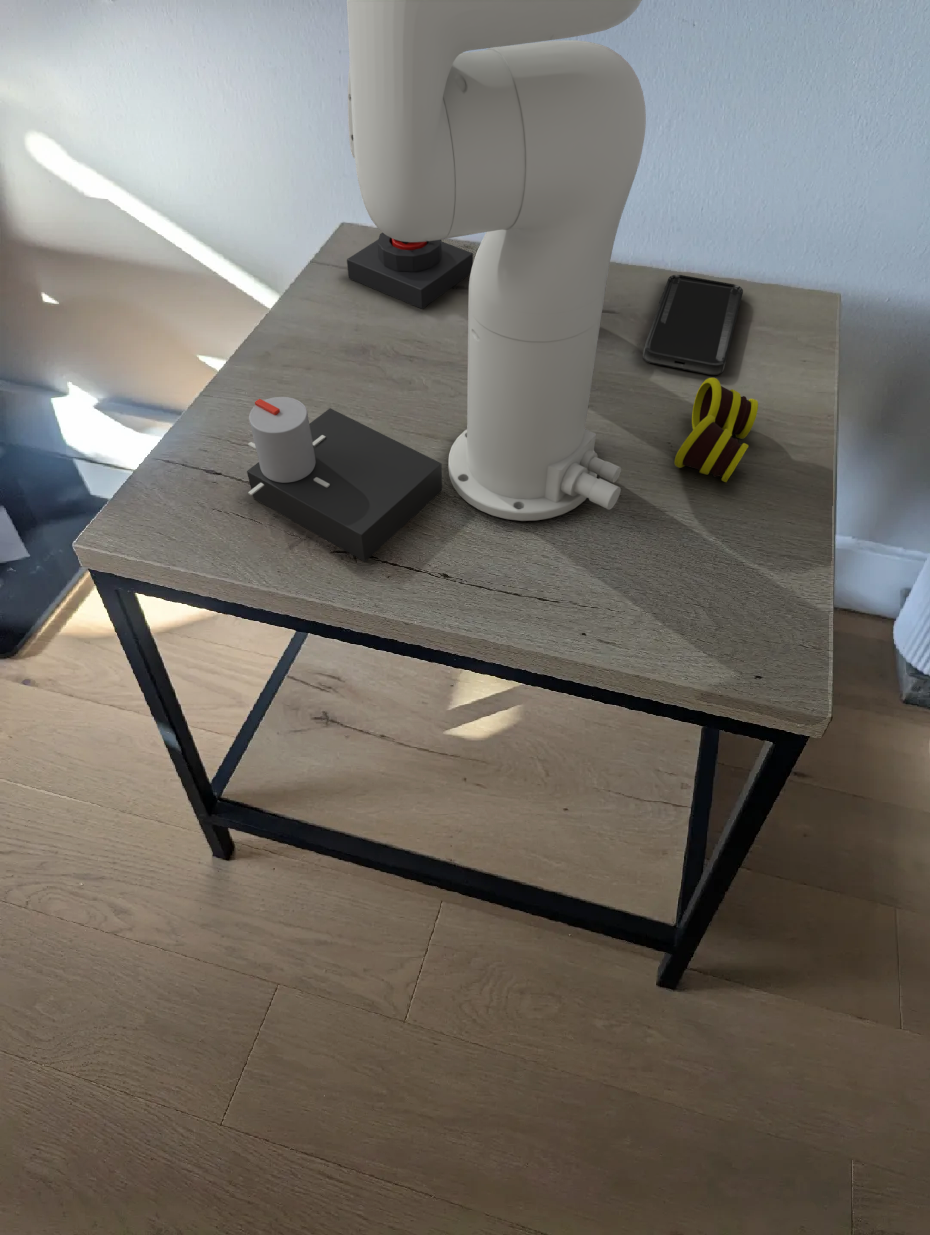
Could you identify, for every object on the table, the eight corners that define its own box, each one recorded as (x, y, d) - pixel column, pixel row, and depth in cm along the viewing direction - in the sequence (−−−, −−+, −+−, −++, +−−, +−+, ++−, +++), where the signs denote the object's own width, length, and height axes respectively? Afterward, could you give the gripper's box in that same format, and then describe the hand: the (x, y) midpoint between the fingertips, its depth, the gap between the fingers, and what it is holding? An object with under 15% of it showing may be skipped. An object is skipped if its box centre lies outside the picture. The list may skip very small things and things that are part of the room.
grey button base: (473, 272, 94) (473, 236, 91) (422, 309, 89) (420, 273, 86) (400, 244, 97) (398, 209, 94) (348, 278, 93) (344, 242, 90)
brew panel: (442, 490, 72) (441, 461, 70) (349, 576, 66) (345, 547, 64) (316, 426, 77) (311, 397, 75) (219, 500, 71) (210, 471, 69)
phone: (744, 286, 90) (724, 367, 81) (741, 296, 91) (721, 377, 82) (669, 272, 92) (641, 351, 83) (667, 282, 92) (639, 361, 83)
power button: (434, 252, 92) (433, 236, 90) (412, 266, 90) (412, 250, 88) (407, 241, 93) (406, 225, 92) (386, 255, 91) (384, 239, 90)
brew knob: (327, 461, 70) (318, 407, 66) (288, 490, 68) (278, 437, 63) (287, 439, 71) (276, 385, 67) (248, 468, 69) (235, 414, 65)
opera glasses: (724, 499, 73) (751, 457, 69) (665, 475, 73) (689, 431, 69) (742, 430, 79) (768, 387, 75) (688, 408, 79) (711, 364, 75)
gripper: (307, 28, 77) (330, 229, 91) (442, 67, 71) (444, 275, 86) (362, 5, 80) (376, 202, 95) (494, 41, 75) (488, 244, 89)
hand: (408, 236), depth 90 cm, fingers closed
